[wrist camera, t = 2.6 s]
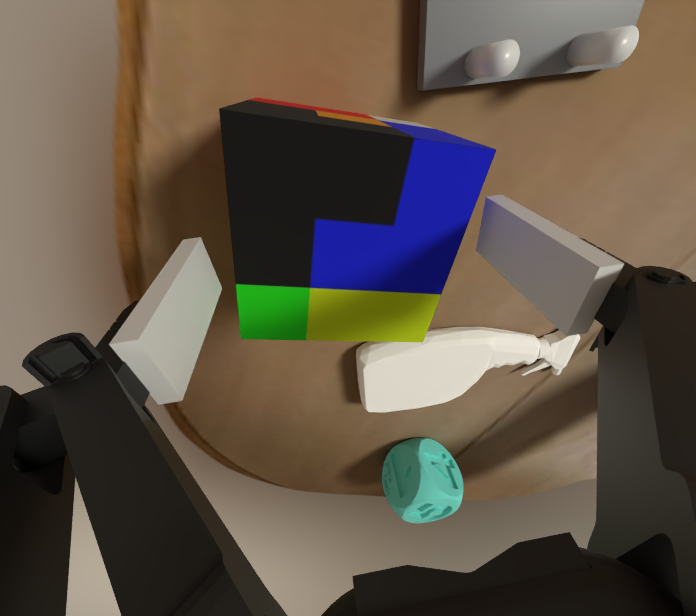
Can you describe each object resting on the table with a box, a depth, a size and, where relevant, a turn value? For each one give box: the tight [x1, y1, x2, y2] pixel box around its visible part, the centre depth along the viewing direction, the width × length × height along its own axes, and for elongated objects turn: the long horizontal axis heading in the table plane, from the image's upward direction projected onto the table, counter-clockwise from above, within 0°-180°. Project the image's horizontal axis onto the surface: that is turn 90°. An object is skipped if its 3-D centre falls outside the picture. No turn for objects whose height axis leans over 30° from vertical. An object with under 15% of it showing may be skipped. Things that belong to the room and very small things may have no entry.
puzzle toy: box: [219, 98, 496, 342], centre depth 17 cm, size 10×10×10 cm
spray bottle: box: [356, 327, 580, 412], centre depth 33 cm, size 3×11×24 cm
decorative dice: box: [382, 438, 463, 523], centre depth 42 cm, size 8×8×8 cm
